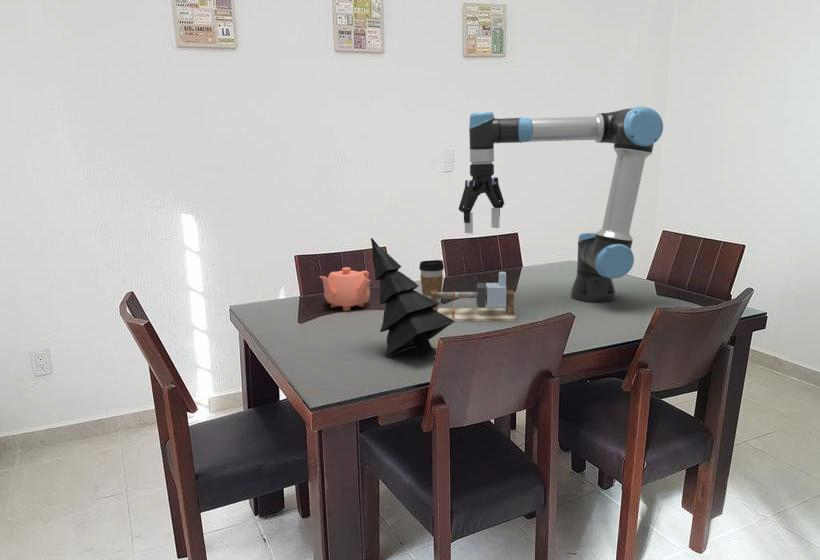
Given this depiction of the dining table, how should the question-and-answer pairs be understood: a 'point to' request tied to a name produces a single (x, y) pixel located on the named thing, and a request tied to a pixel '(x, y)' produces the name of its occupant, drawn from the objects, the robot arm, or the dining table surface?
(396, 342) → the decorative tree
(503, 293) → the blue-grey block with post
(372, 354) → the dining table surface
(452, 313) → the pipe rig
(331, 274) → the teapot
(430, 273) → the coffee cup
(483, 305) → the collar
